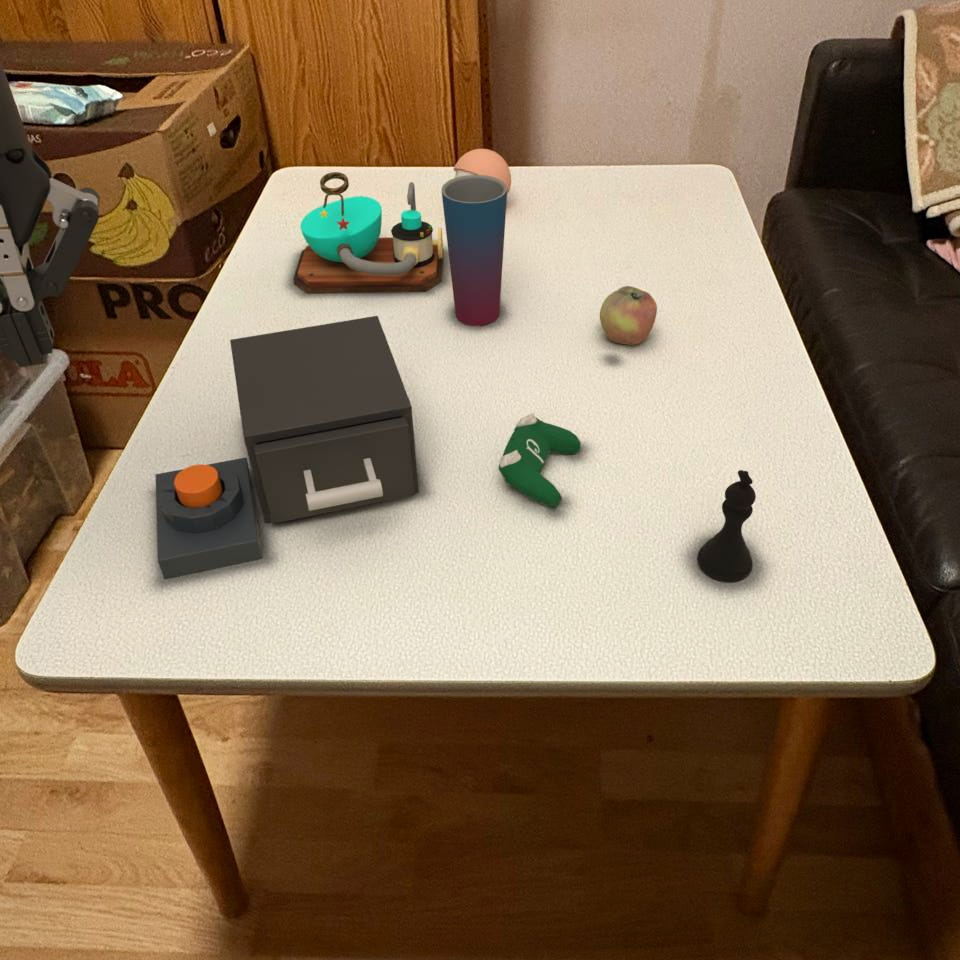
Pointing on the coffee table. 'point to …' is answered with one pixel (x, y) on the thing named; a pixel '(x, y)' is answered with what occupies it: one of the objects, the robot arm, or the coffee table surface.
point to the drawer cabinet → (316, 384)
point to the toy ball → (484, 165)
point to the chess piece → (730, 536)
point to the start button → (198, 485)
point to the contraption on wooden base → (366, 247)
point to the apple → (628, 315)
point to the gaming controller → (535, 457)
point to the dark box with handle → (336, 469)
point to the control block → (207, 524)
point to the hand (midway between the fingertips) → (35, 358)
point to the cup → (475, 245)
